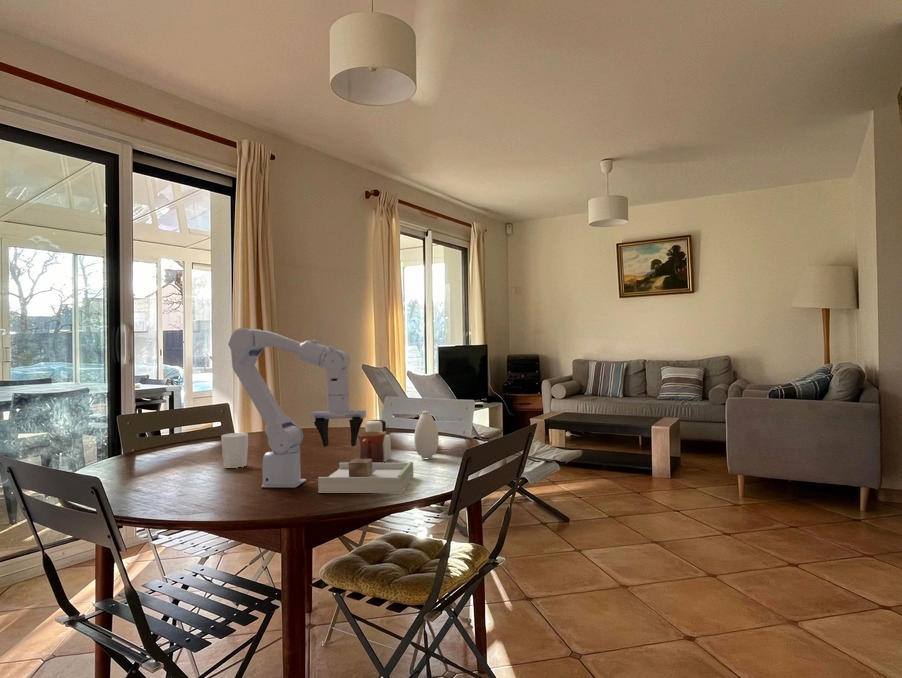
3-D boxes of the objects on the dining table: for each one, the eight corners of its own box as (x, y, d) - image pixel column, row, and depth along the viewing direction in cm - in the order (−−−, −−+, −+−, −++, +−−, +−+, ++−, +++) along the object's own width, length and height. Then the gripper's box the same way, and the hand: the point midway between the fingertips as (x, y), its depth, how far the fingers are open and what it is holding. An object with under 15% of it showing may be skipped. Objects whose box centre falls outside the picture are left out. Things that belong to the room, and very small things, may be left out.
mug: (362, 464, 176) (361, 431, 176) (389, 464, 175) (388, 431, 175) (350, 472, 164) (349, 437, 164) (379, 473, 163) (378, 437, 163)
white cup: (242, 469, 172) (241, 436, 173) (217, 469, 173) (216, 437, 173) (252, 463, 180) (252, 432, 180) (228, 464, 181) (227, 433, 181)
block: (348, 477, 147) (348, 462, 147) (354, 473, 152) (354, 458, 152) (367, 478, 147) (367, 462, 147) (372, 473, 152) (372, 458, 152)
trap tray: (318, 493, 142) (318, 476, 142) (340, 476, 159) (339, 461, 160) (400, 494, 139) (400, 476, 139) (413, 476, 157) (412, 461, 157)
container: (368, 458, 185) (367, 418, 185) (391, 458, 184) (390, 418, 184) (360, 463, 178) (359, 422, 178) (384, 463, 176) (383, 422, 176)
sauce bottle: (437, 461, 178) (436, 404, 178) (412, 461, 179) (411, 404, 179) (440, 456, 185) (439, 401, 186) (416, 456, 186) (415, 402, 186)
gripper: (306, 397, 147) (308, 449, 147) (360, 395, 146) (362, 447, 146) (315, 394, 154) (317, 444, 154) (367, 393, 153) (369, 443, 153)
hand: (339, 445), depth 150 cm, fingers open, 7 cm apart
